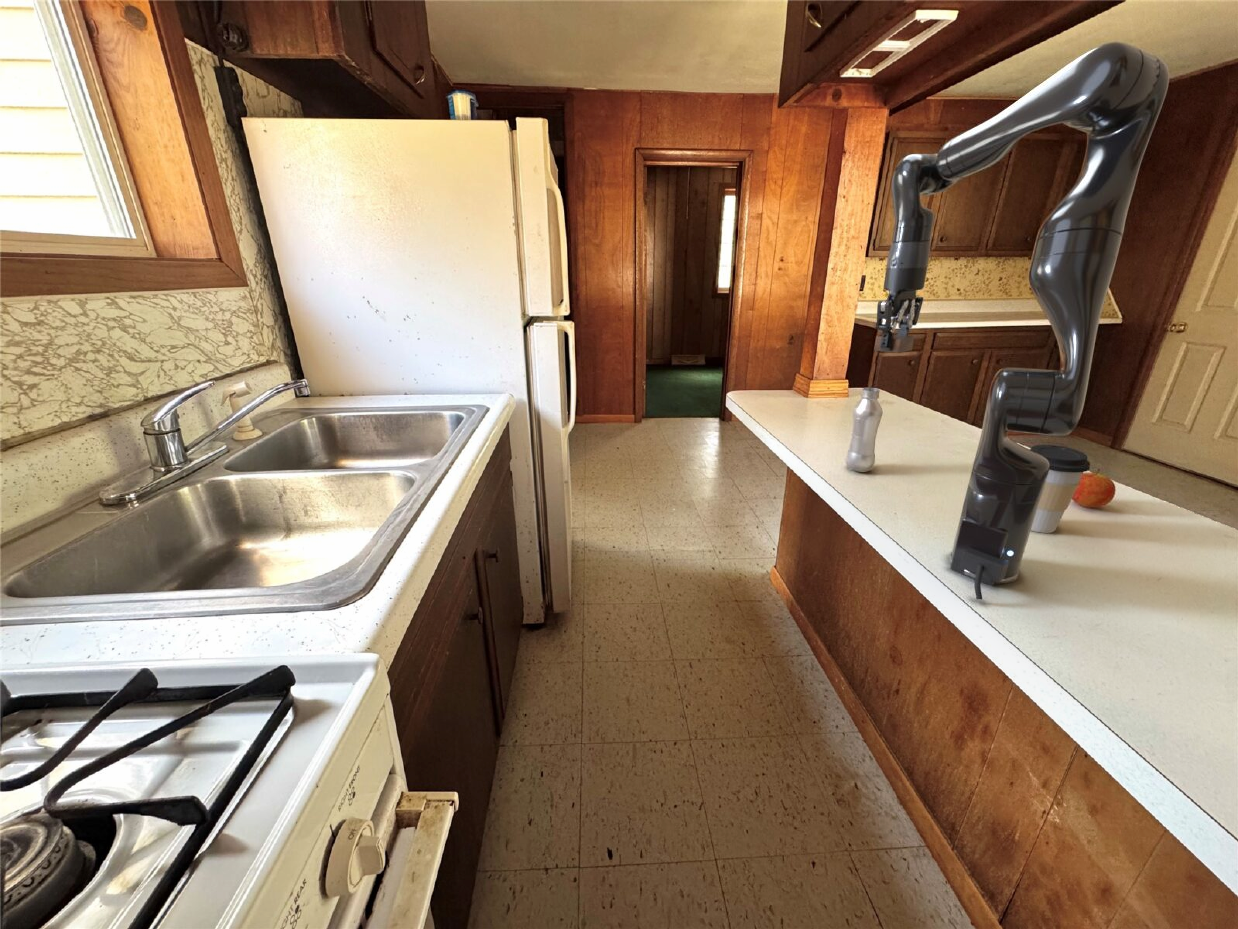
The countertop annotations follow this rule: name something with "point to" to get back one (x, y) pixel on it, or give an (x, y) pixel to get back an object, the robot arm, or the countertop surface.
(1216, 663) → the countertop surface
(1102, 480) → the fruit
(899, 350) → the walnut block
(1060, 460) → the coffee cup
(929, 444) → the countertop surface
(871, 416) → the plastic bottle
